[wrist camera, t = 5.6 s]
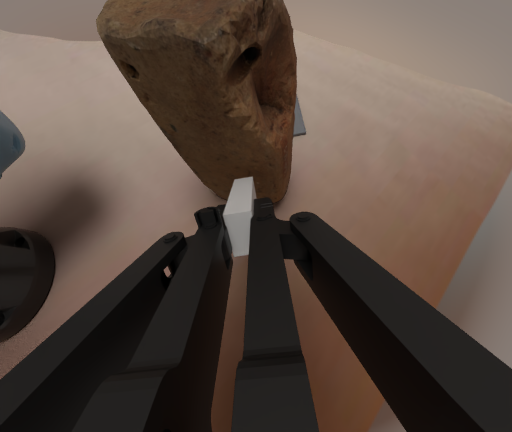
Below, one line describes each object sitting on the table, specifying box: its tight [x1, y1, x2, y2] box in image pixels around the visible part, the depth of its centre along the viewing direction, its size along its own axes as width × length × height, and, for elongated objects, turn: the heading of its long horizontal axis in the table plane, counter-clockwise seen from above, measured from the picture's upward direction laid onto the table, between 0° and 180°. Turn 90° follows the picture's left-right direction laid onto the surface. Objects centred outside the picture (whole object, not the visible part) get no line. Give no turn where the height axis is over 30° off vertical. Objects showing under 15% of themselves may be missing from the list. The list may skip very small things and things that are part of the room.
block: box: [96, 0, 297, 202], centre depth 19 cm, size 11×8×20 cm
